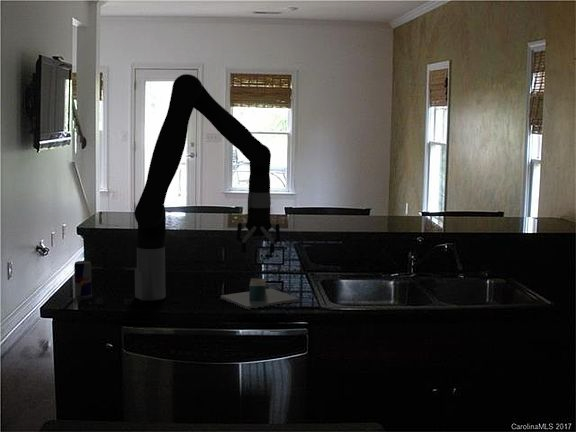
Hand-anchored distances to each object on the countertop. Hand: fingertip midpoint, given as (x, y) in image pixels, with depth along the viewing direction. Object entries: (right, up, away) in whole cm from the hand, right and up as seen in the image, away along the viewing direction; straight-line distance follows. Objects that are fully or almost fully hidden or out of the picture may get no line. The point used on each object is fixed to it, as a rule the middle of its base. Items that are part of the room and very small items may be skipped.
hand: (258, 253), depth 268 cm
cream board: (+1, -15, 0) cm, 15 cm away
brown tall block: (0, -11, +5) cm, 12 cm away
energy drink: (-58, -15, +1) cm, 60 cm away
